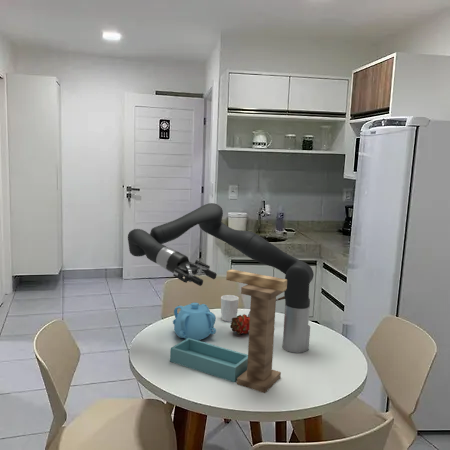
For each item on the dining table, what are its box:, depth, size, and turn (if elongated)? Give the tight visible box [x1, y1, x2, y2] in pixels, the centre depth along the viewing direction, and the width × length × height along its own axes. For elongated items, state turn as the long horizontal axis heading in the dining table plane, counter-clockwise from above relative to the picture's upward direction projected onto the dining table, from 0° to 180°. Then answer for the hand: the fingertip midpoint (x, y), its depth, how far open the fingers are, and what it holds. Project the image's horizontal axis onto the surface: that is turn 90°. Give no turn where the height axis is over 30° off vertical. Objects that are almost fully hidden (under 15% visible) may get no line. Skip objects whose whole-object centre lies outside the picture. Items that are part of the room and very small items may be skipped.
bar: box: [225, 269, 287, 291], centre depth 143 cm, size 20×3×3 cm, turn 60°
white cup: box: [220, 294, 240, 323], centre depth 201 cm, size 8×8×10 cm
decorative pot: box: [172, 302, 217, 341], centre depth 180 cm, size 16×16×14 cm
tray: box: [169, 338, 248, 383], centre depth 156 cm, size 26×11×5 cm, turn 60°
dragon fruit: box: [230, 313, 250, 336], centre depth 186 cm, size 8×8×12 cm
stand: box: [236, 284, 286, 394], centre depth 144 cm, size 10×12×32 cm
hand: (209, 279), depth 153 cm, fingers open, 8 cm apart
